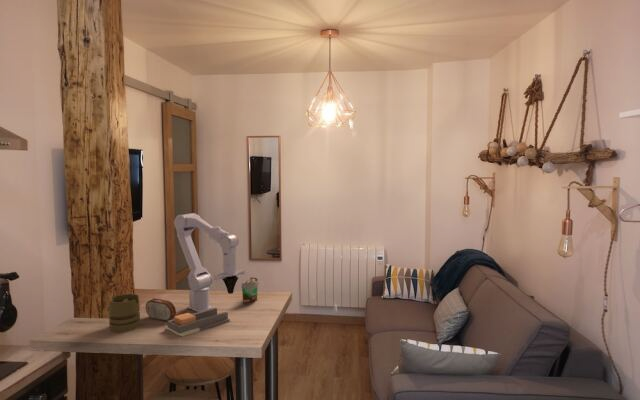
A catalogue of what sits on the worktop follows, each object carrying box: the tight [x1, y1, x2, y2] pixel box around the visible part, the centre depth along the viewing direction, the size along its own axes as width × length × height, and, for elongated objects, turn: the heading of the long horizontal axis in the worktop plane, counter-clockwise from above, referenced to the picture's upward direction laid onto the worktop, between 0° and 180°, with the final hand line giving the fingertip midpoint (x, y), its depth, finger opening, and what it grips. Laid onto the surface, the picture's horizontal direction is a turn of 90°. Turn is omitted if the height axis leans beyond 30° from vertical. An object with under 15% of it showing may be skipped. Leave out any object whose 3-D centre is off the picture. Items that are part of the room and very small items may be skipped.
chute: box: [165, 307, 230, 337], centre depth 174 cm, size 12×22×4 cm, turn 136°
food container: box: [241, 276, 260, 304], centre depth 204 cm, size 12×6×10 cm, turn 168°
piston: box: [108, 293, 141, 333], centre depth 171 cm, size 11×12×11 cm
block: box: [173, 312, 196, 325], centre depth 169 cm, size 6×6×4 cm
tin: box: [145, 297, 177, 322], centre depth 180 cm, size 15×3×8 cm, turn 65°
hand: (230, 293), depth 186 cm, fingers closed
